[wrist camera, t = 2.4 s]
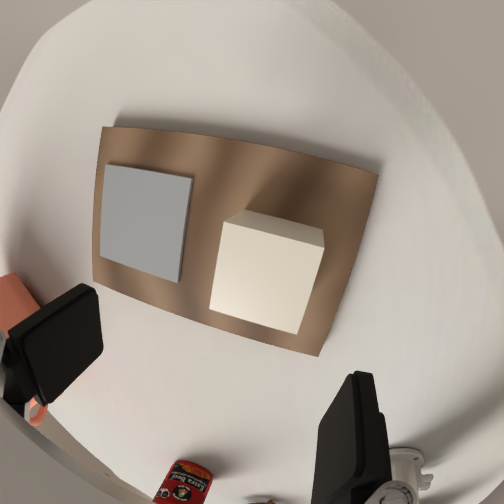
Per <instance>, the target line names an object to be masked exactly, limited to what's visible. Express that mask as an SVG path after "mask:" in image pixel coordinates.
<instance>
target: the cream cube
mask: <svg viewBox="0 0 504 504" xmlns="http://www.w3.org/2000/svg"><path fill="white" fill-rule="evenodd" d="M324 248H325V247H324V236H323V229H319V228H315V227H312V226H308V225H304V224H300V223H297V222H293V221H289V220H285V219H281V218H277V217H273V216H269V215H265V214H261V213H257V212H253V211H249V210H245V209H244V210H243V211H241V212H239V213H238V214H236V215H234V216H233V217H231V218H229V219H227V220H226V221H224V223H223V229H222V234H221V240H220V246H219V251H218V257H217V263H216V269H215V275H214V281H213V287H212V294H211V300H210V306H209V309H211V310H214V311H217V312H220V313H223V314H227V315H230V316H233V317H236V318H240V319H243V320H246V321H250V322H253V323H257V324H260V325H264V326H267V327H271V328H274V329H278V330H281V331H285V332H289V333H293V334H296V335H297V333H298V330H299V327H300V324H301V321H302V318H303V315H304V312H305V309H306V306H307V303H308V300H309V297H310V294H311V291H312V288H313V285H314V281H315V278H316V275H317V272H318V268H319V265H320V262H321V258H322V255H323V252H324Z"/></svg>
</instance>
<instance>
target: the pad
mask: <svg viewBox="0 0 504 504" xmlns="http://www.w3.org/2000/svg"><path fill="white" fill-rule="evenodd" d="M192 184H193V178H189V177H183V176H178V175H172V174H167V173H161V172H155V171H150V170H144V169H137V168H131V167H125V166H118V165H111V164H105V173H104V183H103V194H102V208H101V228H100V256H102V257H104V258H107V259H110V260H112V261H115V262H118V263H121V264H123V265H126V266H129V267H132V268H134V269H137V270H140V271H143V272H146V273H149V274H152V275H154V276H157V277H160V278H163V279H166V280H169V281H172V282H175V283H178V282H179V280H180V271H181V262H182V254H183V246H184V238H185V231H186V223H187V216H188V210H189V203H190V197H191V190H192Z"/></svg>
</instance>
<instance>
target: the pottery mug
mask: <svg viewBox="0 0 504 504" xmlns="http://www.w3.org/2000/svg"><path fill="white" fill-rule="evenodd" d="M250 504H275V503H274V502H272V501H268V502H267V503H250Z"/></svg>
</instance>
